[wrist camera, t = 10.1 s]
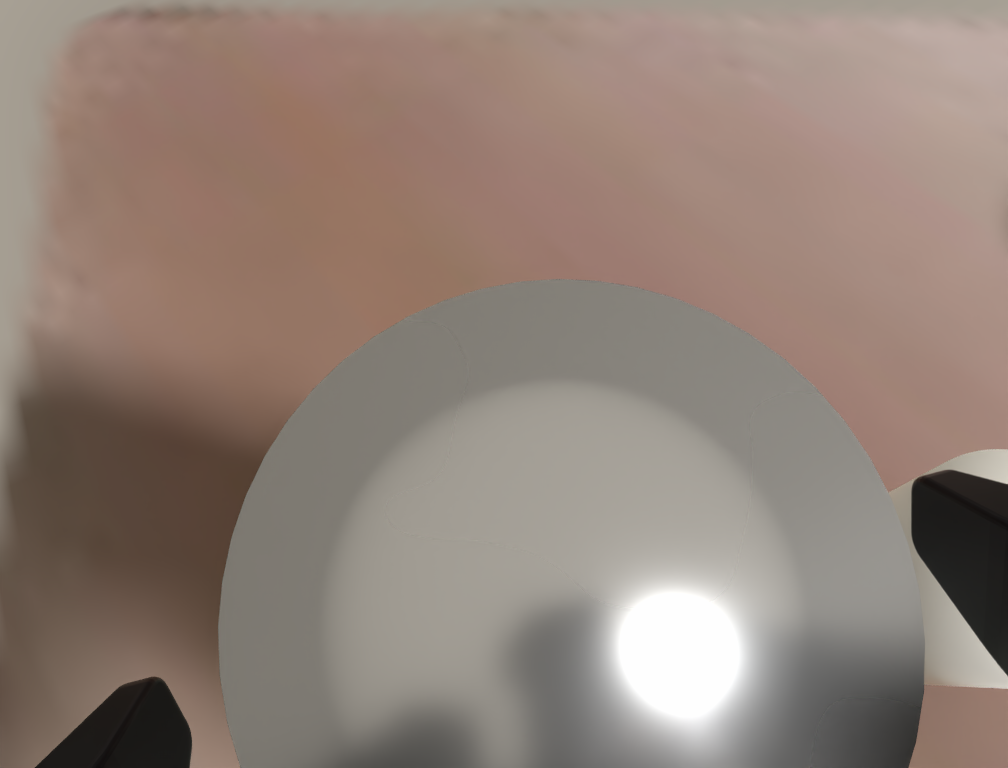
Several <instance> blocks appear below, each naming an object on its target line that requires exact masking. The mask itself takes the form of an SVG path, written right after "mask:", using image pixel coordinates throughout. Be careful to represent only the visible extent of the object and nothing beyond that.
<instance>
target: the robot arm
mask: <svg viewBox="0 0 1008 768" xmlns="http://www.w3.org/2000/svg"><path fill="white" fill-rule="evenodd" d="M911 536H912V541H913V544H914V547H915V549H916V551H917V553H918V555H919V556H920V558H921V559H922V561H923V562H924V564H925V565H926V566H927V568H928V569H929V570H930V572H931V573H932V575H933V576H934V577H935V579H936V580H937V582H938V583H939V584H940V586H941V587H942V589H943V590H944V591H945V593H946V594H947V596H948V597H949V598H950V600H951V601H952V603H953V604H954V605H955V607H956V608H957V610H958V611H959V612H960V614H961V615H962V616H963V618H964V619H965V621H966V622H967V623H968V625H969V626H970V628H971V629H972V630H973V632H974V633H975V635H976V636H977V637H978V639H979V640H980V642H981V643H982V644H983V646H984V647H985V648H986V650H987V651H988V652H989V654H990V655H991V656H992V658H993V659H994V660H995V661H996V663H997V664H998V665H999V666H1000V668H1001V669H1002V670H1003V671H1004V672H1005V674H1006V675H1007V676H1008V484H1005V483H1002V482H998V481H994V480H990V479H986V478H983V477H979V476H975V475H971V474H967V473H964V472H960V471H956V470H942V471H938V472H935V473H931V474H927V475H923V476H920V477H918V478H917V479H915V481H914V482H913V484H912V489H911ZM191 751H192V737H191V732H190V728H189V725H188V723H187V721H186V719H185V717H184V716H183V714H182V712H181V710H180V708H179V706H178V705H177V703H176V701H175V699H174V697H173V695H172V693H171V692H170V690H169V688H168V686H167V685H166V683H165V682H164V681H163V680H162V679H161V678H159V677H149V678H146V679H142V680H138V681H134V682H130V683H127V684H124V685H122V686H120V687H119V688H118V689H116V690H115V691H114V692H113V693H112V694H111V695H110V696H109V697H108V698H107V699H106V700H105V701H104V702H103V703H102V704H101V705H100V706H99V707H98V708H97V709H96V710H95V711H94V712H92V713H91V714H90V715H89V716H88V717H87V718H86V719H85V720H84V721H83V722H82V723H81V724H80V725H79V726H78V727H77V728H76V729H75V730H74V731H73V732H72V733H71V734H70V735H68V736H67V737H66V738H65V739H64V740H63V741H62V742H61V743H60V744H59V745H58V746H57V747H56V748H55V749H54V750H53V751H52V752H51V753H50V754H49V755H48V756H47V757H46V758H44V759H43V760H42V761H41V762H40V763H39V764H38V765H37V766H36V767H35V768H190V759H191Z"/></svg>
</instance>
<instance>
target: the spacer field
mask: <svg viewBox="0 0 1008 768" xmlns="http://www.w3.org/2000/svg"><path fill="white" fill-rule="evenodd" d="M942 470H956V471H960V472H964V473H967V474H971V475H975V476H979V477H983V478H986V479H990V480H994V481H998V482H1002V483H1005V484H1008V450H1002V449H992V450H981V451H975V452H971V453H967V454H963V455H961V456H958V457H955V458H953V459H951V460H949V461H947V462H945V463H943V464H941V465H939V466H937V467H936V468H934V469H932V470H930V471H928V472H926V473H924V474H922V475H920V476H923V475H927V474H931V473H935V472H938V471H942ZM920 476H919V477H920ZM917 478H918V477H917ZM917 478H915V479H917ZM915 479H913V480H911V481H909V482H907V483H905V484H903V485H902V486H900V487H898V488H896V489H894V490H892V491H890V492H888V493H889V495H890V497H891V499H892V502H893V504H894V507H895V510H896V512H897V515H898V518H899V520H900V523H901V526H902V528H903V531H904V534H905V536H906V539H907V542H908V545H909V549H910V553H911V557H912V561H913V565H914V570H915V574H916V578H917V582H918V586H919V591H920V599H921V608H922V617H923V627H924V636H925V664H924V685H936V686H959V687H982V688H1005V689H1008V676H1007V675H1006V674H1005V672H1004V671H1003V670H1002V669H1001V668H1000V666H999V665H998V664H997V663H996V661H995V660H994V659H993V658H992V656H991V655H990V654H989V652H988V651H987V650H986V648H985V647H984V646H983V644H982V643H981V642H980V640H979V639H978V637H977V636H976V635H975V633H974V632H973V630H972V629H971V628H970V626H969V625H968V623H967V622H966V621H965V619H964V618H963V616H962V615H961V614H960V612H959V611H958V610H957V608H956V607H955V605H954V604H953V603H952V601H951V600H950V598H949V597H948V596H947V594H946V593H945V591H944V590H943V589H942V587H941V586H940V584H939V583H938V582H937V580H936V579H935V577H934V576H933V575H932V573H931V572H930V570H929V569H928V568H927V566H926V565H925V564H924V562H923V561H922V559H921V558H920V556H919V555H918V553H917V551H916V549H915V547H914V544H913V541H912V536H911V489H912V484H913V482H914V481H915Z"/></svg>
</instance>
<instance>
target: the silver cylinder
mask: <svg viewBox="0 0 1008 768" xmlns="http://www.w3.org/2000/svg"><path fill="white" fill-rule="evenodd" d="M218 638H219V667H220V680H221V686H222V692H223V698H224V705H225V711H226V717H227V723H228V727H229V730H230V733H231V737H232V740H233V744H234V747H235V750H236V754H237V757H238V761H239V764H240V767H241V768H908V766H909V763H910V760H911V757H912V753H913V750H914V747H915V743H916V738H917V732H918V726H919V719H920V713H921V706H922V700H923V694H924V664H925V636H924V627H923V617H922V608H921V599H920V591H919V586H918V582H917V578H916V574H915V570H914V565H913V561H912V557H911V553H910V549H909V545H908V542H907V539H906V536H905V534H904V531H903V528H902V526H901V523H900V520H899V518H898V515H897V512H896V510H895V507H894V504H893V502H892V499H891V497H890V495H889V493H888V491H887V490H886V488H885V486H884V484H883V482H882V480H881V478H880V476H879V474H878V472H877V470H876V468H875V466H874V465H873V463H872V461H871V459H870V457H869V456H868V454H867V453H866V451H865V450H864V448H863V447H862V446H861V444H860V443H859V441H858V440H857V438H856V437H855V435H854V434H853V432H852V431H851V429H850V428H849V426H848V425H847V424H846V422H845V421H844V420H843V418H842V417H841V416H840V415H839V414H838V413H837V412H836V410H835V409H834V408H833V407H832V406H831V405H830V403H829V402H828V401H827V400H826V399H825V398H824V397H823V395H822V394H821V393H820V392H819V391H818V390H817V389H816V387H814V386H813V385H812V384H811V383H810V382H809V381H808V380H807V379H806V378H805V377H803V376H802V375H801V374H800V373H799V372H798V371H797V370H796V369H795V368H794V367H792V366H791V365H790V364H789V363H788V362H787V361H786V360H785V359H784V358H782V357H781V356H779V355H778V354H777V353H775V352H774V351H772V350H771V349H770V348H768V347H767V346H765V345H764V344H763V343H761V342H760V341H758V340H757V339H756V338H754V337H753V336H752V335H750V334H749V333H747V332H745V331H743V330H741V329H740V328H738V327H736V326H734V325H732V324H731V323H729V322H727V321H725V320H723V319H722V318H720V317H718V316H716V315H714V314H712V313H710V312H708V311H705V310H703V309H700V308H698V307H695V306H693V305H691V304H688V303H686V302H683V301H681V300H678V299H676V298H673V297H669V296H666V295H662V294H659V293H655V292H652V291H648V290H645V289H641V288H638V287H632V286H626V285H620V284H613V283H607V282H601V281H588V280H567V279H553V280H539V281H524V282H516V283H511V284H505V285H500V286H495V287H489V288H484V289H480V290H477V291H473V292H470V293H467V294H464V295H460V296H457V297H454V298H451V299H447V300H444V301H442V302H440V303H438V304H435V305H433V306H431V307H428V308H426V309H424V310H422V311H419V312H417V313H415V314H413V315H410V316H408V317H407V318H405V319H403V320H401V321H400V322H398V323H396V324H395V325H393V326H391V327H390V328H388V329H386V330H385V331H383V332H381V333H379V334H378V335H376V336H374V337H373V338H372V339H370V340H369V341H368V342H367V343H365V344H364V345H363V346H361V347H360V348H359V349H357V350H356V351H355V352H353V353H352V354H351V355H349V356H348V357H347V358H345V359H344V360H343V361H342V362H341V363H340V364H339V365H338V366H337V367H336V368H335V369H334V370H333V371H331V372H330V373H329V374H328V375H327V376H326V377H325V378H324V379H323V380H322V381H321V382H320V383H319V384H318V385H317V386H316V387H315V388H314V389H313V390H312V391H311V393H310V394H309V395H308V396H307V397H306V399H305V400H304V401H303V402H302V404H301V405H300V406H299V407H298V408H297V410H296V411H295V412H294V413H293V415H292V416H291V417H290V418H289V419H288V421H287V422H286V424H285V425H284V427H283V428H282V430H281V432H280V433H279V435H278V436H277V438H276V439H275V441H274V443H273V444H272V446H271V447H270V449H269V450H268V452H267V454H266V455H265V457H264V459H263V461H262V463H261V465H260V467H259V469H258V471H257V473H256V475H255V478H254V480H253V482H252V484H251V486H250V488H249V490H248V492H247V494H246V497H245V500H244V503H243V505H242V508H241V511H240V514H239V517H238V520H237V523H236V526H235V529H234V532H233V535H232V538H231V543H230V547H229V552H228V557H227V561H226V566H225V571H224V575H223V580H222V590H221V601H220V612H219V623H218Z"/></svg>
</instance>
